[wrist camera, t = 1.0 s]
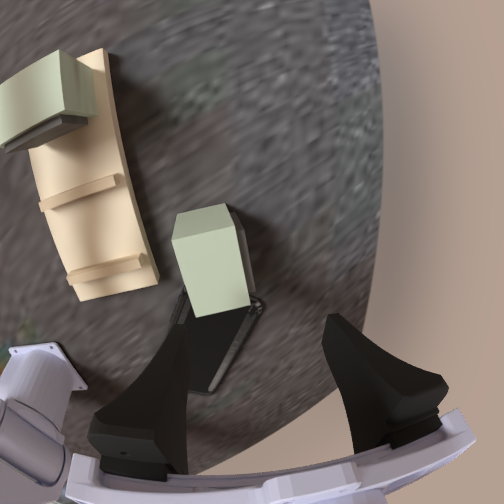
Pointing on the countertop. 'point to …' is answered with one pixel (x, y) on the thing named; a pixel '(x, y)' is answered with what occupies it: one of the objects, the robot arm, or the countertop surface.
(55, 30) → the countertop surface
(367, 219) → the countertop surface
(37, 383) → the robot arm
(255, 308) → the phone
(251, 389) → the countertop surface
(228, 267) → the block
